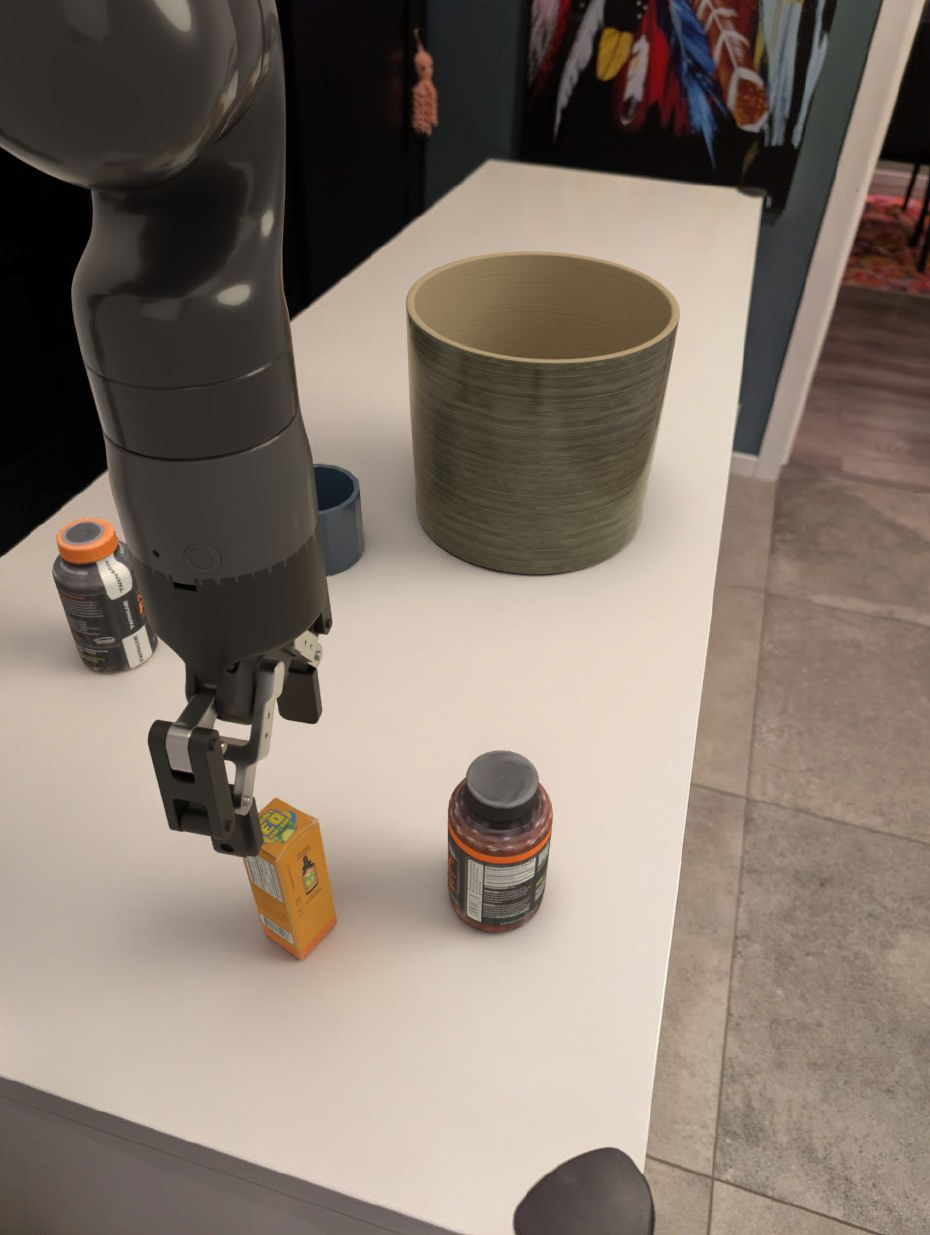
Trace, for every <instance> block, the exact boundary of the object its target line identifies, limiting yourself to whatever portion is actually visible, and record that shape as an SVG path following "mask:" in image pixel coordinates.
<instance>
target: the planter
mask: <svg viewBox="0 0 930 1235" xmlns="http://www.w3.org/2000/svg"><path fill="white" fill-rule="evenodd" d="M405 298H406V299H405V318H406V343H407V344H406V345H407V367H408V368H407V371H408V372H407V373H408V389H409V390H408V392H409V394H408V395H409V409H410V410H409V412H410V429H411V443H412V458H413V459H412V460H413V474H414V475H413V476H414V492H415V507H416V513H417V517H418V520H419V522H420V524H421V526H422V528H423V529H424V531H425V532H426V534H427V535H428V536H429V537H430V538H431V539H432V540H433V541H434V542H435V543H437V545H439V546H440V547H441V548H442V549H444V550H445V551H447V552H449V553H451V554H452V555H453V556H455V557H457V558H460V559H461V560H464V561H466V562H468V563H471V564H474V565H477V566H480V567H483V568H486V569H490V570H495V571H499V572H505V573H511V574H524V575H550V574H561V573H567V572H572V571H573V572H574V571H576V570H581V569H584V568H588V567H591V566H594V565H597V564H599V563H601V562H604V561H605V560H607V559H610V558H611V557H613V556H614V555H615V554H617V553H619V552H620V551H621V550H623V549H624V548H625V547H626V546H627V545H628V544H629V543H630V542H631V541H632V539H634V536H635V535H636V533H637V532H638V530H639V527H640V524H641V521H642V516H643V511H644V507H645V500H646V495H647V491H648V485H649V480H650V476H651V470H652V465H653V461H654V456H655V451H656V446H657V443H658V442H657V441H658V436H659V432H660V426H661V422H662V416H663V412H664V406H665V400H666V395H667V390H668V384H669V379H670V375H671V374H670V373H671V368H672V363H673V358H674V352H675V345H676V341H677V334H678V330H679V325H680V324H679V323H680V318H681V310H680V305H679V303H678V300H677V299H676V297H675V296H674V294H673V293H672V292H671V291H670V290H669V289H668V288H667V287H665V286H664V285H663V284H662V283H660V282H659V281H658V280H656V279H655V278H653V277H651V276H649V275H647V274H645V273H644V272H641V271H639V270H637V269H634V268H632V267H630V266H626V265H623V264H620V263H617V262H613V261H610V260H607V259H603V258H598V257H593V256H588V255H583V254H582V255H581V254H575V253H565V252H557V251H556V252H555V251H535V250H533V251H531V250H530V251H529V250H528V251H527V250H526V251H525V250H524V251H522V250H521V251H506V252H495V253H487V254H480V255H475V256H470V257H465V258H462V259H458V260H455V261H452V262H449V263H446V264H443V265H441V266H439V267H437V268H436V267H435V268H434V269H432V270H430V271H428V272H427V273H426V274H424V275H422V276H421V277H420V278H418V279H417V280H416V281H415V282H414V283H413V284H412V286H411V287H410V288H409V290H408V292H407V294H406V297H405Z"/></svg>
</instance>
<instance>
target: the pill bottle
mask: <svg viewBox="0 0 930 1235" xmlns="http://www.w3.org/2000/svg"><path fill="white" fill-rule="evenodd" d="M55 541H56V545H57V548H58V553H59V554H58V555H57V556H56V558H55V560H54V561H53V564H52V570H51V571H52V578H53V582H54V585H55V587H56V590H57V593H58V596H59V599H60V601H61V605H62V607H63V611H64V614H65V618H66V620H67V623H68V626H69V629H70V632H71V635H72V638H73V641H74V644H75V647H76V650H77V653H78V656H79V657H80V660H81V661H82V663H83V664H84V665H85V666H86V667H88V668H90V669H91V670H93V671H97V672H100V673H119V672H125V671H128V670H131V669H133V668H136V667H137V666H140V665H141V664H143V663H144V662H146V661H147V660H148V659H149V658H150V657H151V656H152V655H153V654H154V652H156V651H155V650H156V648H157V646H158V642H159V639H158V638H159V637H158V636H157V635H156V633H155V632H154V631H153V629H152V628H151V626H150V624H149V622H148V620H147V616H146V613H145V609H144V606H143V602H142V598H141V595H140V591H139V588H138V584H137V581H136V577H135V573H134V570H133V566H132V563H131V559H130V555H129V552H128V548H127V545H126V542H124V541H122V540H120V539H119V538H118V535H117V533H116V529H115V527H114V525H113V523H111V522H110V521H108V520H106V519H103V518H99V517H86V518H85V517H84V518H81V519H76V520H74V521H72V522H69V523H67V524H66V525H64V526H63V527H62V528H60V529H59V531H58V532H57V534H56V538H55Z"/></svg>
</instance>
